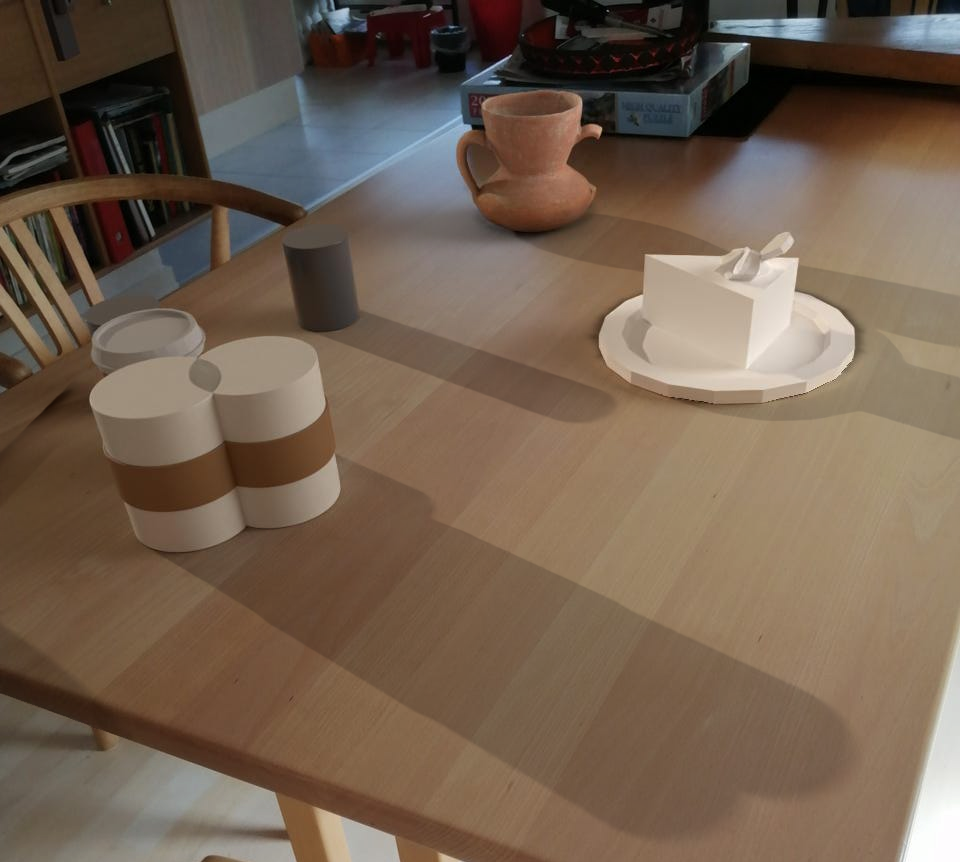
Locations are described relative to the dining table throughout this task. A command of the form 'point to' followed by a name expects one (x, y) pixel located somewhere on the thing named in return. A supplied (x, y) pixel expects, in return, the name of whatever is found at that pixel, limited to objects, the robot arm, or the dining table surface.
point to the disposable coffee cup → (146, 338)
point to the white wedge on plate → (726, 329)
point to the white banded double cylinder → (219, 441)
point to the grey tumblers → (312, 274)
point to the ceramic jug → (530, 160)
